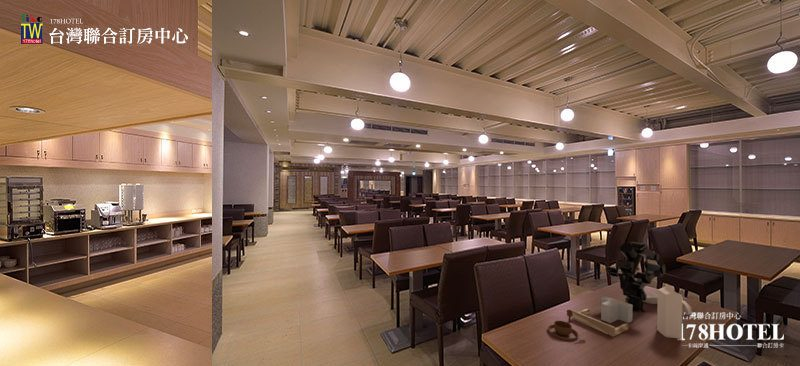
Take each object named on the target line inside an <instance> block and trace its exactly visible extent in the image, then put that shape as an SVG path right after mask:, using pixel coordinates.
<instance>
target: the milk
mask: <svg viewBox="0 0 800 366" xmlns="http://www.w3.org/2000/svg"><path fill="white" fill-rule="evenodd" d="M657 294H658V303H657V316H656V317H657V319H656V320H657V321H656V322H657V323H656V330H657V331H658V333H660V334H661V335H663V336H664V337H665V338H670V339H671V338H673V339H681V340H682V339H683V305H682V300H683V299H682V297H683V294H680V293H678V292H676V291H675V287H673V286H671V285H669V284H667V283H665V285H664V286H663V287H661V288H659V289H657Z"/></svg>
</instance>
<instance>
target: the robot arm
mask: <svg viewBox="0 0 800 366" xmlns="http://www.w3.org/2000/svg"><path fill="white" fill-rule="evenodd" d="M619 251H620V252H621V254H622V255H623V257H624V258H625V260H623V261H622V260H616V261H615V267H614V266H606V267H605V269H604V270H605V271H606V273H607V274H608V275H609V276H611V277H614V278H619V284H620V285H619V286H620V289H621V290H622V295H623V296H626V298H625V300H624V302H625V303H629V304H632V305H633V308H632V311H636V312H643V313H644V312H646V311H645V310H644V302H643V300H644V301H646V298H647V295H646V293H645V292H646V291H645V290H644V288H645V287H647V286H648V285H651V283H652V280H654V279H655V278H660V277H662V276H664V275H666V271H667V269H666V264H665V263H664V261H663V260H662V259H661V258H660V255H659V254H658V253H656V252H654V251H652V250H651V249H649V247H648V245H647V244H646V243H643V242H641V243H640V242H634V241H630V242H629V241H626V243H623V244H621V245H619ZM642 257H644V258H645V261H644V262H643V267H644V271H643V272H639V270H640V268H639V265H640V262H642V261H643V259H642ZM649 260H651V261H655V262H656V263H652V262H649ZM617 268H618V269H617ZM637 271H638V272H637Z"/></svg>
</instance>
